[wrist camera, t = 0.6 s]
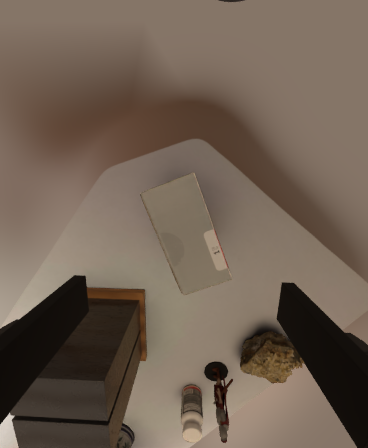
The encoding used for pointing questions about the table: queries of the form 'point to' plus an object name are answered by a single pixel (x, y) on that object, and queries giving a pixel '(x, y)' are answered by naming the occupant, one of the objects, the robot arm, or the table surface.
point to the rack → (87, 377)
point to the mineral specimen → (270, 357)
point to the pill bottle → (191, 413)
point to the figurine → (219, 395)
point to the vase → (125, 437)
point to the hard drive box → (186, 234)
